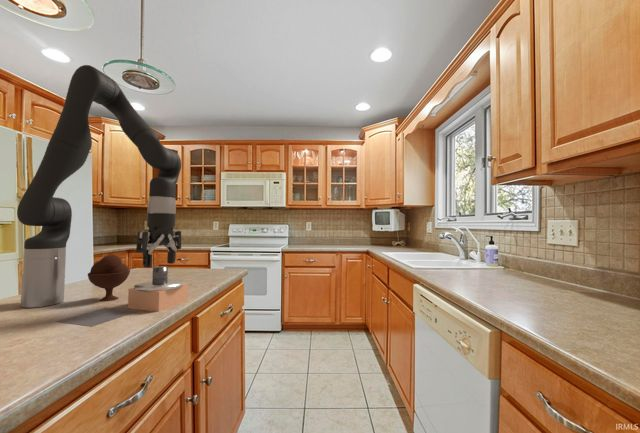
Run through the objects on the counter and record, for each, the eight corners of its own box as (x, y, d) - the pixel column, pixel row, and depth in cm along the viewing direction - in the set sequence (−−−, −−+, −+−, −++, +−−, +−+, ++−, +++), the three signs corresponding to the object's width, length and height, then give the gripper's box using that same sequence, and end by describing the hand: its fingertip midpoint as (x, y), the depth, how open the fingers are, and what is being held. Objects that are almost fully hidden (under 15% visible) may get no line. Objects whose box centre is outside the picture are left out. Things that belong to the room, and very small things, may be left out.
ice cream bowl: (137, 297, 93) (138, 253, 93) (108, 306, 81) (110, 256, 82) (108, 296, 94) (110, 252, 94) (76, 305, 83) (78, 256, 83)
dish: (127, 309, 78) (128, 289, 79) (159, 300, 89) (159, 281, 89) (158, 313, 76) (159, 291, 76) (187, 302, 86) (187, 283, 86)
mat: (55, 323, 67) (55, 321, 67) (105, 309, 79) (105, 307, 79) (91, 329, 64) (92, 326, 64) (138, 313, 76) (138, 311, 76)
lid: (122, 289, 78) (123, 269, 78) (160, 280, 91) (160, 263, 91) (159, 292, 75) (160, 271, 75) (193, 283, 87) (193, 265, 87)
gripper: (170, 213, 91) (168, 261, 91) (130, 210, 77) (128, 267, 77) (189, 213, 89) (187, 263, 89) (151, 211, 75) (149, 269, 75)
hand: (159, 265), depth 83 cm, fingers open, 8 cm apart
